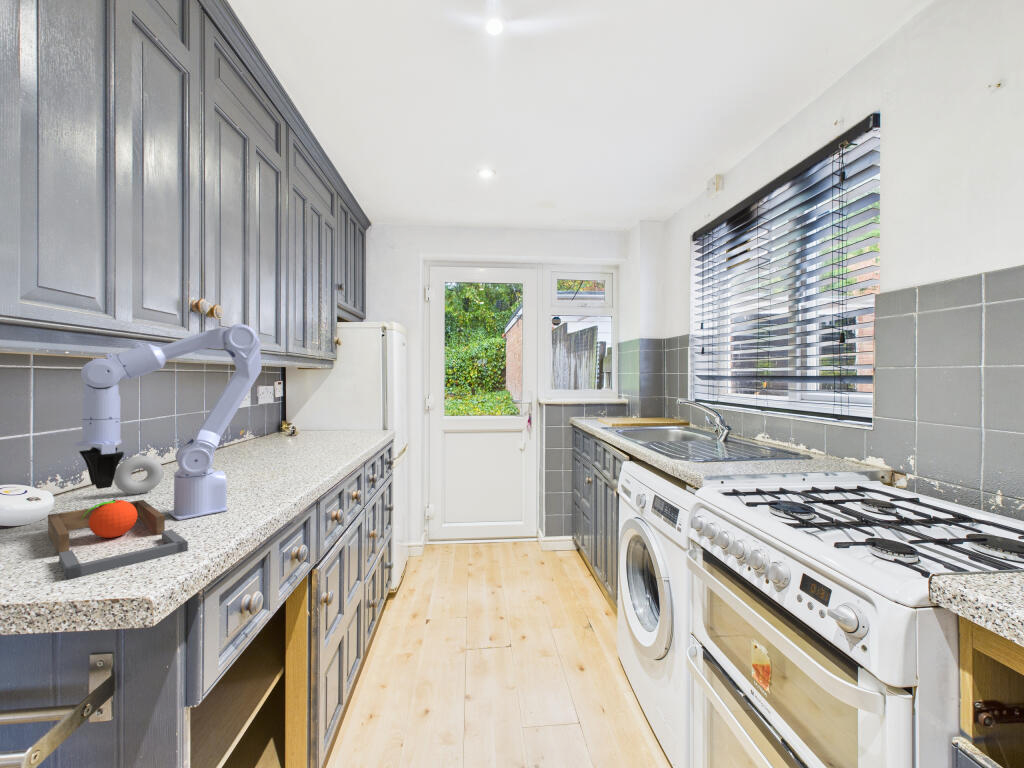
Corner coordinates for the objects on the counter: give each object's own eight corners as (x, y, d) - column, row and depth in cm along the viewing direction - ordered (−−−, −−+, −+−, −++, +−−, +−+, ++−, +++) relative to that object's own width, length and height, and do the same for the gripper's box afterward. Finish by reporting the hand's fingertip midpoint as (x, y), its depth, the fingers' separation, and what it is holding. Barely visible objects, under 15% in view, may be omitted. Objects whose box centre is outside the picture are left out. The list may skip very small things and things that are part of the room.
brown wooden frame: (142, 515, 97) (142, 499, 97) (164, 533, 86) (164, 515, 86) (48, 532, 85) (48, 514, 85) (59, 555, 75) (59, 535, 75)
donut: (114, 498, 110) (114, 459, 110) (112, 496, 112) (112, 457, 112) (164, 491, 117) (164, 454, 117) (161, 489, 119) (162, 452, 119)
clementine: (88, 548, 78) (88, 508, 78) (75, 540, 82) (75, 502, 82) (143, 535, 85) (143, 498, 85) (129, 528, 89) (129, 493, 89)
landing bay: (171, 537, 84) (171, 529, 84) (187, 550, 78) (187, 541, 78) (59, 561, 72) (59, 552, 72) (67, 579, 66) (67, 569, 66)
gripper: (68, 417, 90) (68, 483, 90) (79, 422, 81) (79, 495, 81) (114, 415, 96) (114, 477, 96) (129, 420, 87) (129, 488, 87)
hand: (101, 485), depth 89 cm, fingers open, 5 cm apart
